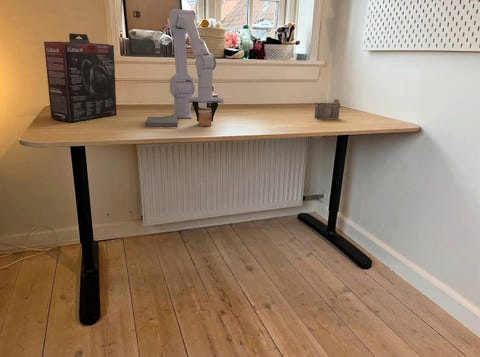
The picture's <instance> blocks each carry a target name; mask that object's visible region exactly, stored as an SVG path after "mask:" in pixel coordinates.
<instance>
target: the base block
mask: <svg viewBox="0 0 480 357" xmlns="http://www.w3.org/2000/svg"><path fill="white" fill-rule="evenodd" d="M178 121H179V120H178V118H177V117H173V116H147V118H146V120H145V128H146V127H177V128H178V125H177V123H178Z"/></svg>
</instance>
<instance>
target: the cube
mask: <svg viewBox="0 0 480 357" xmlns="http://www.w3.org/2000/svg"><path fill="white" fill-rule="evenodd" d="M198 114H199V121H197V123H198V126H200V127H201V126H203V127H211V126H212V122H211V119H212V113H211V110H208V111H207V110H199V111H198Z"/></svg>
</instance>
